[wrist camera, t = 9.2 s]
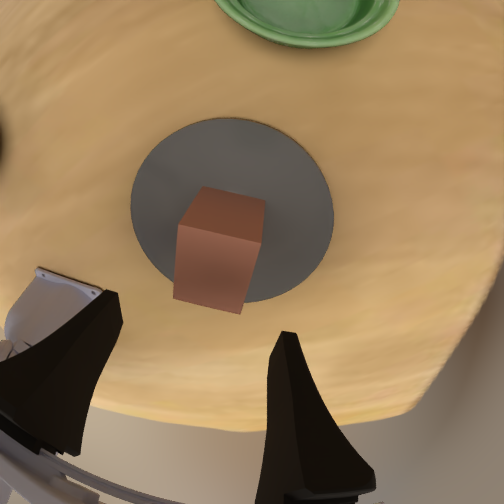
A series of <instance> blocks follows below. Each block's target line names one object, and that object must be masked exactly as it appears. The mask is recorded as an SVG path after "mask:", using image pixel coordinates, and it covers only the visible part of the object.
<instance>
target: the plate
mask: <svg viewBox="0 0 504 504" xmlns="http://www.w3.org/2000/svg"><path fill="white" fill-rule="evenodd" d="M202 186H205V187H210V188H215V189H219V190H224V191H228V192H232V193H237V194H241V195H245V196H250V197H254V198H258V199H262V200H265V210H264V221H263V232H262V243H261V247H260V250H259V253H258V257H257V260H256V264H255V267H254V270H253V274H252V277H251V280H250V284H249V287H248V290H247V294H246V297H245V300H244V303H249V302H256V301H262V300H266V299H270V298H273V297H276V296H278V295H281V294H283V293H285V292H287V291H289V290H291V289H292V288H294V287H296V286H297V285H299V284H300V283H301V282H302V281H304V280H305V279H306V278H307V277H308V276H309V275H310V274H311V273H312V272H313V271H314V270H315V269H316V268H317V266H318V265H319V263H320V262H321V260H322V259H323V257H324V255H325V253H326V251H327V249H328V246H329V243H330V240H331V237H332V231H333V224H334V211H333V203H332V198H331V195H330V191H329V188H328V185H327V183H326V181H325V179H324V177H323V175H322V173H321V171H320V169H319V167H318V166H317V164H316V163H315V161H314V160H313V159H312V157H311V156H310V155H309V154H308V153H307V152H306V151H305V150H304V148H303V147H301V146H300V145H299V144H298V143H297V142H295V141H294V140H293V139H292V138H290V137H289V136H287V135H285V134H284V133H282V132H281V131H279V130H277V129H275V128H272V127H270V126H268V125H265V124H262V123H259V122H255V121H252V120H247V119H239V118H216V119H210V120H204V121H201V122H197V123H194V124H191V125H189V126H187V127H184V128H182V129H180V130H178V131H176V132H175V133H173V134H171V135H170V136H168V137H167V138H166V139H164V140H163V141H161V142H160V143H159V144H158V145H157V146H156V147H155V148H154V149H153V150H152V151H151V152H150V154H149V155H148V156H147V158H146V159H145V160H144V162H143V163H142V165H141V167H140V169H139V171H138V173H137V176H136V178H135V181H134V184H133V189H132V194H131V218H132V223H133V227H134V231H135V234H136V236H137V239H138V241H139V243H140V245H141V247H142V249H143V251H144V252H145V254H146V255H147V257H148V258H149V260H150V261H151V262H152V263H153V265H154V266H155V267H156V268H157V269H158V270H159V271H160V272H161V273H162V274H163V275H164V276H166V277H167V278H168V279H169V280H171V281H172V282H173V283H174V272H175V257H176V244H177V233H178V224H179V222H180V221H181V219H182V217H183V216H184V214H185V213H186V211H187V209H188V208H189V206H190V205H191V203H192V202H193V200H194V198H195V197H196V195H197V194H198V192H199V191H200V189H201V188H202Z"/></svg>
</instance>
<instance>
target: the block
mask: <svg viewBox="0 0 504 504" xmlns="http://www.w3.org/2000/svg"><path fill="white" fill-rule="evenodd" d="M264 210H265V200H262V199H258V198H254V197H250V196H245V195H241V194H237V193H232V192H228V191H224V190H219V189H215V188H210V187H205V186H202V188H201V189H200V191H199V192H198V194H197V195H196V197H195V198H194V200H193V202H192V203H191V205H190V206H189V208H188V209H187V211H186V213H185V214H184V216H183V217H182V219H181V221H180V222H179V224H178V233H177V244H176V257H175V272H174V289H173V299H177V300H181V301H185V302H189V303H193V304H197V305H201V306H205V307H210V308H214V309H218V310H222V311H227V312H231V313H236V314H241V311H242V307H243V304H244V300H245V297H246V294H247V290H248V287H249V284H250V280H251V277H252V274H253V270H254V267H255V264H256V260H257V257H258V253H259V250H260V247H261V243H262V232H263V221H264Z"/></svg>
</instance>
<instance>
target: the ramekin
mask: <svg viewBox="0 0 504 504" xmlns="http://www.w3.org/2000/svg"><path fill="white" fill-rule="evenodd" d="M399 1H400V0H215V2H216V3H217V4H218V6H219V7H220V8H221V9H222V10H223V11H224V12H225V13H226V14H227V15H228V16H229V17H231V18H232V19H233V20H234V21H236V22H237V23H238V24H240V25H241V26H243V27H245V28H246V29H248V30H250V31H251V32H253V33H255V34H257V35H258V36H260V37H262V38H264V39H266V40H269V41H271V42H274V43H277V44H280V45H284V46H288V47H295V48H306V49H311V48H326V47H335V46H342V45H346V44H350V43H354V42H357V41H360V40H362V39H365V38H367V37H369V36H371V35H373V34H375V33H376V32H378V31H379V30H381V29H382V28H383V27H384V26H385V25H386V24H387V23H388V22H389V21H390V20H391V18H392V17H393V15H394V14H395V12H396V10H397V8H398V5H399Z"/></svg>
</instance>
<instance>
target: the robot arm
mask: <svg viewBox="0 0 504 504" xmlns="http://www.w3.org/2000/svg"><path fill="white" fill-rule="evenodd" d="M35 273H36V277H35V279H34V280H33V281H32V282H31V283H30V285H29V286H28V287H27V288H26V290H25V291H24V292H23V293H22V295H21V296H20V297H19V298H18V300H17V301H16V302H15V304H14V305H13V306H12V308H11V309H10V311H9V313H8V315H7V318H6V321H5V328H4V331H5V337H6V340H1V342H0V504H7V502H8V500H9V497H10V495H11V492H12V490H15V491H16V492H17V493H18V494H19V495H21V496H22V497H23V498H24V499H25V500H27V501H28V502H29V503H31V504H105V503H103V502H100V501H98V500H99V496H100V495H99V494H98V493H95V492H93V491H91V490H89V489H87V488H85V487H83V486H81V485H78V484H76V483H74V482H71V481H69V480H67V478H66V476H65V475H67V476H69V477H71V478H73V479H75V480H77V481H79V482H81V483H83V484H86V485H88V486H90V487H92V488H95V489H97V490H99V491H102V492H104V493H107V494H109V495H112V496H114V497H117V498H120V499H122V500H125V501H128V502H131V503H134V504H184V503H179V502H175V501H170V500H167V499H163V498H159V497H155V496H151V495H148V494H145V493H142V492H138V491H135V490H132V489H129V488H126V487H124V486H121V485H118V484H115V483H112V482H110V481H108V480H105V479H103V478H100V477H98V476H96V475H93V474H91V473H88V472H87V471H84V470H82V469H80V468H78V467H76V466H74V465H72V464H70V463H68V462H66V461H64V460H62V459H60V458H58V457H57V455H58V453H60V454H61V455H63V454H64V452H66V453H68V454H70V455H72V456H74V457H75V456H78V455H80V453H81V444H82V437H83V432H84V427H85V422H86V417H87V413H88V409H89V406H90V402H91V399H92V396H93V392H94V389H95V386H96V384H97V381H98V379H99V377H100V375H101V373H102V370H103V368H104V366H105V364H106V362H107V360H108V358H109V356H110V354H111V352H112V350H113V348H114V346H115V344H116V342H117V339H118V336H119V333H120V330H121V328H122V325H123V319H122V314H121V308H120V303H119V297H118V293H117V292H114V291H110V290H107V289H106V290H104V291H103V292H102V291H101V290H100V289H98V288H95V287H92V286H89V285H86V284H83V283H80V282H77V281H74V280H71V279H68V278H65V277H62V276H59V275H57V274H54V273H51V272H48V271H46V270H43V269H40V268H36V269H35ZM375 489H376V479H375V474H374V470H373V469H372V468H371V467H370V466H369V465H368V464H367V463H366V462H365V461H364V459H363V458H362V457H361V456H360V455H359V454H358V453H357V451H356V450H355V449H354V448H353V447H352V445H351V444H350V443H349V441H348V440H347V439H346V437H345V436H344V434H343V433H342V432H341V430H340V429H339V427H338V426H337V424H336V423H335V421H334V419H333V418H332V416H331V414H330V413H329V411H328V409H327V407H326V406H325V404H324V402H323V400H322V398H321V396H320V394H319V392H318V390H317V387H316V385H315V383H314V381H313V378H312V376H311V373H310V371H309V368H308V366H307V363H306V360H305V358H304V355H303V352H302V349H301V346H300V343H299V339H298V336H297V334H296V333H293V332H287V331H282V332H281V334H280V336H279V338H278V340H277V342H276V344H275V347H274V349H273V351H272V353H271V355H270V358H269V366H268V375H267V433H266V440H265V448H264V455H263V463H262V469H261V474H260V480H259V485H258V489H257V494H256V499H255V504H355V502H358V495H361V494H365V493H369V492H372V491H374V490H375ZM375 504H384V502H379V503H375Z"/></svg>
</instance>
